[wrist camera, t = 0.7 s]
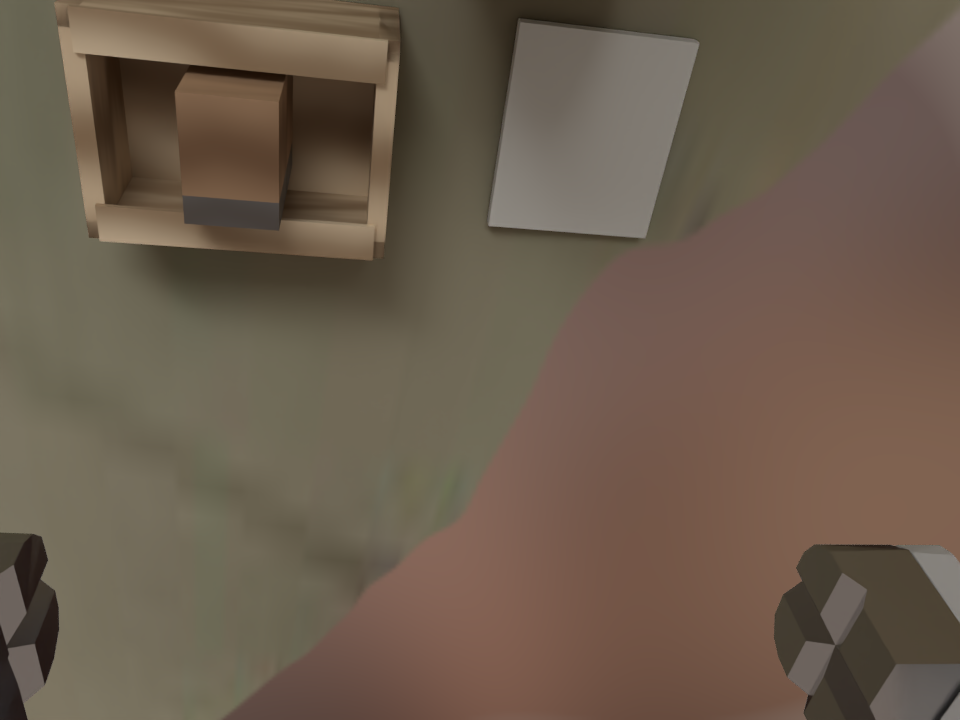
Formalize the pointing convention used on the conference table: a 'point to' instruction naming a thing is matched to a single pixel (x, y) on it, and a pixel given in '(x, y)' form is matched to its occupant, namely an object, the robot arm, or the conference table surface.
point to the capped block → (234, 146)
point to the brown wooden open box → (244, 46)
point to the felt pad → (587, 128)
